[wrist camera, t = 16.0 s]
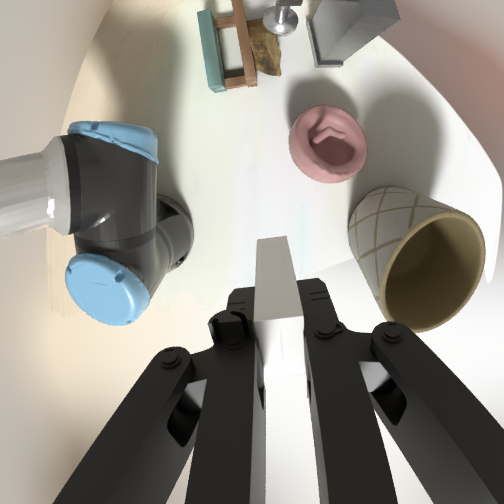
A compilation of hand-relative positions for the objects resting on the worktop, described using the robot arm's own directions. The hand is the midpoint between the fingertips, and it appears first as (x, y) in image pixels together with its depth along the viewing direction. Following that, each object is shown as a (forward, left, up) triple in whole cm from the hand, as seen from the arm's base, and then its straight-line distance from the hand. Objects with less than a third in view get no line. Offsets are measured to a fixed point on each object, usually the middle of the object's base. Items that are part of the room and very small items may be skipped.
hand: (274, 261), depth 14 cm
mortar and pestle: (+10, +4, -35) cm, 36 cm away
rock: (+3, +22, -34) cm, 41 cm away
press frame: (+10, +22, -34) cm, 42 cm away
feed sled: (-3, +22, -34) cm, 41 cm away
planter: (+22, -13, -35) cm, 43 cm away
